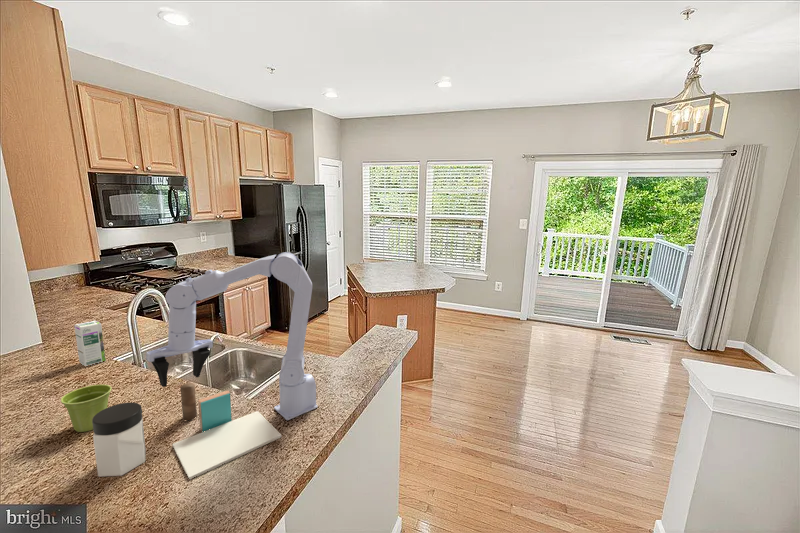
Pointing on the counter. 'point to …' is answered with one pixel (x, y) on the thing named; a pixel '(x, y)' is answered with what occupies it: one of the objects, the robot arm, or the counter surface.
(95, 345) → the syrup box
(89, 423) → the plant pot
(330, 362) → the counter surface
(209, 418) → the tile
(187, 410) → the pestle
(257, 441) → the board
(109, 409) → the jar
